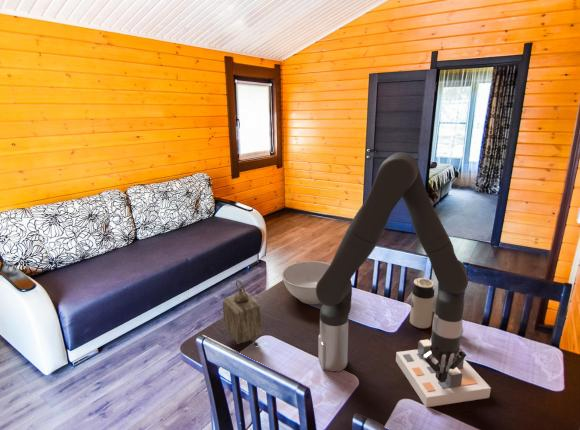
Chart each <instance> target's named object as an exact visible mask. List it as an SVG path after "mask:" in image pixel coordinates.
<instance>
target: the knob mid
mask: <svg viewBox="0 0 580 430" xmlns="http://www.w3.org/2000/svg"><path fill="white" fill-rule="evenodd" d="M464 359H465V358H464ZM464 359H463V360H462V361H461V362H460V363H459V364H458V366H457V368H458V369H463V363H464ZM454 362H455V360H454V361H453V362H452V364H453V363H454Z"/></svg>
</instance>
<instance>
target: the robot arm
mask: <svg viewBox="0 0 580 430" xmlns="http://www.w3.org/2000/svg"><path fill="white" fill-rule="evenodd" d="M373 181H374V182H373V184H372V185H371V188H370V191H369V194H368V196H367V198H366V199H365V201H364V202H363V204H362V205H361V206H360V208H359V210H358V211H357V212H356V213H355V216H354V217H353V219H352V220H351V222H350V224H349V225H348V228H347V230H346V231H345V234H344V235H343V238H342V240H341V242H340V244H339V246H338V247H337V250H336V252H335V254H334V257H333V259H332V261H331V263H329V264H330V266H329V268H328V269H327V270H326V272H325V273H324V275H323V276H322V278H321V279H320V280H319V282H318V283H317V286H316V295H317V298H318V300H319V301H320V302H321V303H320V304H322V305H321V307H320V311H319V334H318V337H317V339H318V342H317V343H318V346H317V348H318V351H317V352H318V353H317V354H318V355H317V356H318V361H320V362H319V364H320V367H321V370H322V369H323V370H322V371H328V370H330V371H329V372H332V371H337V372H341V371H343V370H345V369H346V367H347V366H348V350H349V349H348V347H349V344H348V343H349V314H350V313H351V312H350V311H351V308H352V298H353V297H352V296H353V284H352V280H351V279H352V278H353V276H354V275H355V273H356V272H357V271H358V270H359V269H360V267H362V266H363V264H364V263H365V262H366V260H367V259H369V257H370V255H371V254H372V252H373V251H374V250H375V247H376V246H377V244H378V243H379V242H380V239H381V238H382V236H383V233H384V232H385V229H386V226H387V224H388V221H389V218H390V216H391V214H392V213H393V210H394V208H396V205H397V204H398V203H399V202H400V200H401V199H403V201H404V203H405V206H406V207H407V210H408V212H409V216H410V219H411V223H412V227H413V229H414V232H415V234H416V237H417V239H418V241H419V244H420V245H421V247H422V249H423V251H424V252H425V255H426V256H427V259H429V262H430V264H431V265H430V266H431V267H432V270H433V273H434V275H435V278H436V280H437V297H436V300H435V307H434V308H435V309H434V314H433V315H434V316H433V318H432V319H433V320H432V324H431V326H432V328H431V336H430V338H431V339H430V342H431V343H432V345H431V347H430V349H429V350H430V351H429V352H428V353H426V354H425V353H422V357H423V358H424V359H425V361H426V362H427V363H428V364H429V365H430V366H431V368H432V369H433V370H434V371H435V372H436V375H435V376H436V378H437V380H438V381H439V382H440V383H441V382H445V380H446V379H447V374H448V371H449V369H455V368H456V367H457V366H458V364H459V363H460V362H461V361H462V360H463V359H465V357H466V356H467V354H466V353H465V352H464V351H463V349H461V348H460V347H461V341H462V335H461V333H462V326H463V317H464V316H463V314H464V310H463V309H464V308H465V307H464V306H465V305H464V304H465V302H464V293H465V290H466V289H467V288H468V284H469V276H468V270H467V268H466V266H465V264H464V262H462V261H461V260H459V259H458V258H457V256H456V252H455V249H454V245H453V243H452V240H451V239H450V237H449V235H448V233H447V231H446V229H445V228H444V227H445V226H444V224H443V223H442V222H441V219H440V218H439V216H438V214H437V212H436V209H435V208H434V206H433V204H432V202H431V198H429V197H430V196H429V195H428V192H427V189H426V187H425V184H424V180H423V178H422V174H421V170H420V166H419V164H418V162H417V160H416V159H415V157H414V156H413V155H411V154H410V153H408V152H402V151H401V152H399V151H398V152H396V153H393V154H391V155H390V156H388V157H387V158H386V159H384V161H383V162H382V163H381V164H380V166H379V168H378V171H377V173H376V177H375V179H374V180H373ZM462 334H463V333H462ZM432 355H433V356H434V357H435V361H436V364H434V363H433V362H432V361H433V360H432ZM454 360H455V362H454V363H453V364H452V362H453V361H454ZM324 369H326V370H324Z"/></svg>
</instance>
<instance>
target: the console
mask: <svg viewBox="0 0 580 430" xmlns="http://www.w3.org/2000/svg"><path fill="white" fill-rule="evenodd" d="M395 355H396V356H395V362H396V363H397V365H398V367H399V368H400V370H401V372H402V373H403V375H404V377H406V379H407V380H408V382H409V384H410V385H411V386H412V388H413V389H414V391H415V393H416V394H417V395H418V397H419V399H420V401H421V402H422V403H423V405H424V408H431V407H436V406H443V405H444V406H445V405H450V404H456V403H462V402H470V401H476V400H483V399H490V395H491V389H492V387H490V385H489V384H488V383H487V382H486V381H485V379H484V378H482V377H481V376H480V375H479V373H478V372H477V371H476V370H475V369H474V368H473V367H472V366H471V365H470V364H469V362H467V361H466V359H465V358H464V363H463V369H459V370H460V371H461V373H462V374H463V375H462V382H461V386H458V387H451V388H450V387H449V386H448V385H447V383H446V382H441V383H440V382H439V381H438V380H437V378H436V376H435V375H436V372H435V371H434V370H433V369H432V368H431V366H430V365H429V364H428V363H427V362H426V361H425V359H423V358H422V357H421V356H420V354H419V353H418V348H417V349H411V350H404V351H403V350H402V351H396V353H395ZM432 360H433V361H432V362H433V363H434V364H436V361H435V357H434V356H433V357H432Z"/></svg>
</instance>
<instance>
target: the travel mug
mask: <svg viewBox="0 0 580 430" xmlns="http://www.w3.org/2000/svg"><path fill="white" fill-rule="evenodd" d="M413 284H414V285H413V286H412V288H411V289H412V290H411V302H410V314H409V323H410V324H411V326H413V327H416V328H418V329H428V328H431V326H432V321H433V320H432V319H433V318H432V317H433V309H434V298H435V289H434V287H435V281H433V280H431V279H430V278H425V277H418V278H415V279H414V280H413Z"/></svg>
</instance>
